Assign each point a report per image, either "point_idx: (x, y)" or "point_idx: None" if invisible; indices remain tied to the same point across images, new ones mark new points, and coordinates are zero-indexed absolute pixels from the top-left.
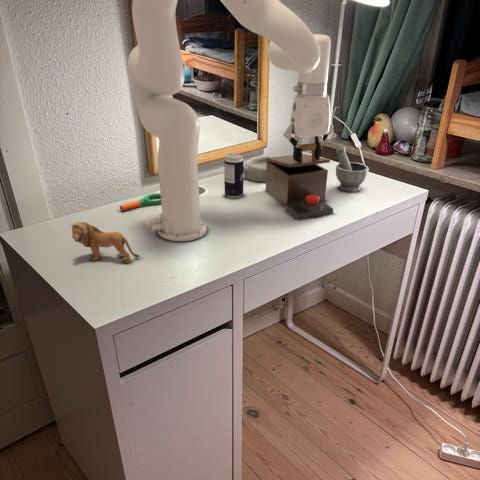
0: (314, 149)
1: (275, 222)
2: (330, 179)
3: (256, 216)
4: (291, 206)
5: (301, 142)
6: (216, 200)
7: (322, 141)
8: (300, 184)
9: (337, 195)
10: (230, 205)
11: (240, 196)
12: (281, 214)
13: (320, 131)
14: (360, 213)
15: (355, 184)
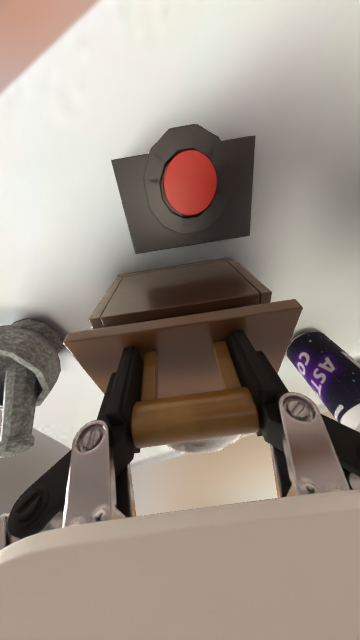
0: (145, 400)
1: (322, 142)
2: (77, 386)
3: (338, 212)
4: (242, 220)
5: (286, 436)
6: (348, 328)
7: (79, 451)
8: (205, 283)
9: (74, 306)
10: (343, 298)
11: (294, 338)
12: (269, 209)
13: (74, 634)
14: (10, 140)
15: (9, 325)
